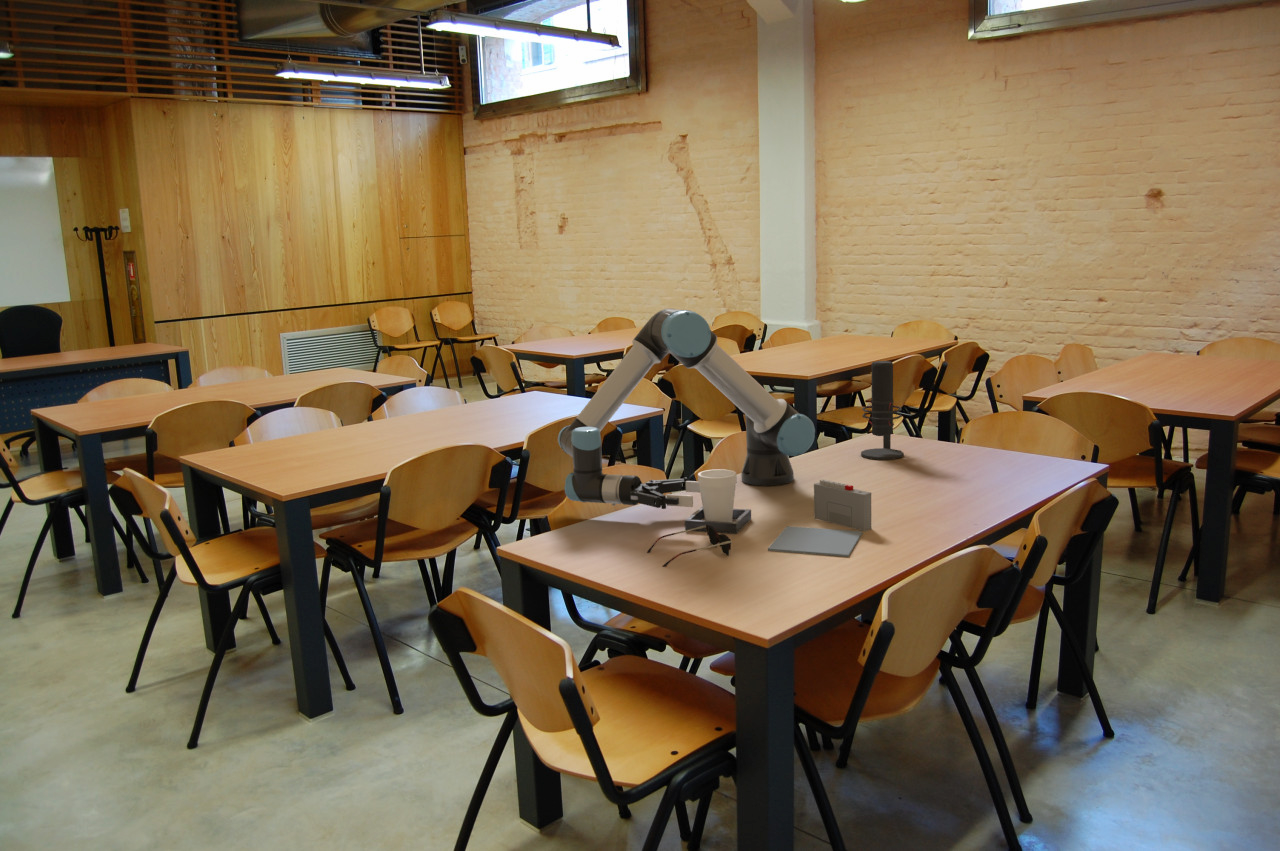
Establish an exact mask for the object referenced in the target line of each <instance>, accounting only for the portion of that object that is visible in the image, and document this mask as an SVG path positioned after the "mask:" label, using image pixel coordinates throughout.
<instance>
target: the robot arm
mask: <svg viewBox="0 0 1280 851" xmlns="http://www.w3.org/2000/svg"><path fill="white" fill-rule="evenodd" d="M669 354H671V355H672V357H674V358H675V359H676V360H677V361H678V362H680V364H682V366H684V367H685V368H686V369H695V370H697V371H698V372H699V373H700V374H701V375H702V376H703V377H704V378H706V380H707V381H709V382H710V384H712V385H713V386H714V387H715V388H716V389H718V390H719V392H721V394H723V395H724V396H725V397H726V398H727V399H728V400H729V401H730V402H731V403H732V404H733V405H735V407H737V408H738V409H739V410H740V412H742V413H743V414H745V416H744V417H745V431H746V432H745V434H746V435H745V436H746V437H745V438H746V456H745V460H744V463H743V466H742V470H741V475H740V476H741V477H740V478H741V481H742V483H744V484H747V485H753V486H765V487H766V486H767V487H768V486H770V487H771V486H779V485H786V484H790V483H791V482H793V481H794V478H795V477H794V476H795V473H794V470H793V467H792V463H791V462H790V458H789V456H790V457H797V456H800V455H803V454H805V453H807V451H808V450H809V449H810V448H811V447H812V445H813V444H814V441H815V437H816V436H815V434H816V428H815V425H814V422H813V421H812V420H811V419H810V418H809V417H808V416H807V415H805V414H803V413H799V412H798V411H797V410H796V409H795V408H794V407H792V405H790V404H789V403H788V402H787V401H786V400H785V399H783V398H778V399H776V398H775V397H774V396H773V395H772V394H770V392H769V391H768V390H766V388H764V387H763V386H762V385H761V384H760V383H759V382H758V381H757V380H756V379H755V378H753V377H752V375H750V373H748V372H747V371H746V370H745V369H744V368H743V366H741V365H740V364H739V363H738V362H737V361H736V360H734V358H733V357H731V355H730V354H728V353H727V351H725V350H724V349H723V348H722V347H721V346H719V344H718V336H717V335H716V334H715V333H714V332H713V331H712V329H711V327H710V325H709V323H708V322H707V320H706V319H705V318H704V316H702V315H700V314H699V313H698V312H695V311H692V310H689V309H676V308H664V309H662V310H659V311H657V312H656V313H655V314H654V315H653V316H651V317H650V318H649V320H647V322H646V323H645V324H644V325H643V327H641V329H640V330H639V332H638V333H637V334H636V335H635V337H634V338H633V339H632V346H631V348H630V349H629V351H628V352H627V353H626V354H625V355H624V357H623V358H622V359H621V360H620V362H619V363H618V365H616V367H615V368H614V370H612V372H611V373H610V375H609V376H608V377H607V378H606V379H605V381H604V382H603V383H602V385H601V386H600V387H599V389H598V390H597V391H596V392H595V394H594V395H593V396H592V397H591V399H590V400H589V401H588V403H587V404H586V405H585V406H584V407H583V409H582V410H581V411H580V413H579V414H578V415H577V416H576V418H575V419H574V420H573V421H572V422H571V423H570V425H566V426H564V427H563V428H561V430H560V431H559V433H558V436H557V443H558V445H559V447H560V449H562V451H563V452H564V453H565V454H567V455H569V456H570V457H571V458H572V466H573V467H572V468H573V470H572V472H570V473H568V475H566V478H565V482H564V483H565V485H564V494H565V496H566V497H567V498H568V500H570V501H572V502H580V503H581V502H582V503H595V504H611V506H613V507H614V506H616V505H621V504H622V505H625V506H626V505H627V506H637V505H638V504H642V505H645V506H649V507H653V508H656V509H659V508H660V509H662V510H666V509H667V506H669V507H683V508H693V507H694V496H693V495H691V494H690V495H689V494H688V495H687V494H672V493H675V492H683V491H685V492H686V493H699V494H701V493H700V487H699V484H698V480H697V481H695V480H688V478H687V476H686V477H683V478H673V479H656V480H655V479H649V481H646V482H645V483H643V482H642V480H641V478H640V477H639V476H638V475H627V474H625V475H623V474H611V473H610V474H607V473H603V456H602V455H603V454H602V438H601V436H602V435H601V431H602V430H603V429H604V428H605V426H607V424H608V423H609V421H610V420H611V419H612V417H613V416H614V415H615V413H617V411H618V410H619V409H620V407H621V406H622V405H623V403H624V402H625V401H626V400H627V399H628V397H629V396H630V395H631V393H632V392H633V391H634V390H635V388H636V387H637V386H638V385H639V383H640V382H641V381H642V380H643V379H644V377H645V376H646V375H647V374H648V372H650V370H651V368H652V367H653V366H654V365H655V364H660V363H661V362H662V361H663V359H665V357H666V356H667V355H669ZM665 494H666V495H665Z"/></svg>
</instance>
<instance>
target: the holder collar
mask: <svg viewBox="0 0 1280 851" xmlns="http://www.w3.org/2000/svg"><path fill="white" fill-rule="evenodd" d="M732 520H734V521H732V522H718V521H705V517H704V511H703V506H700V508H698V509H697V510H695V511H694V512H693V513H692V514H691V515H690V516H688V517H687V518H686V519H684V531H686V530H690V529H694V528H698V527H701V526H705V525H707V524H708V525H711V526H713V527H714V528H715V529H716V530H717V532H718V534H719V533H720V534H730V535H731V534H732V535H737V534H738V533H739V532H740V531H741V530H742V529H744V527H745V526H746V525H747V524H748V523H749V522H751V520H752V509H747V508H734V507H733V516H732ZM691 532H704V533H705V532H706V533H707V529H706V527H705V528H701V529H696V530H692V531H691Z"/></svg>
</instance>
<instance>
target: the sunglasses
mask: <svg viewBox="0 0 1280 851" xmlns="http://www.w3.org/2000/svg"><path fill="white" fill-rule="evenodd" d="M705 527H706V529H707V532H706V535H707V536H708V539H709V544H710V545H709V546H705V547H699V548H695V549H691V550H687V551H683V552H679V553H678V554H676V555H675V556H674V557H671V559H669V560H667V561H666V562H665V563H664V564H663V565H662V566H661V567H662V568H663V567H664V568H665V567H667V566H669V564H670V563H671V562H673V561H674V560H676V559H677V558H679V557H680V556H681V555H685V554H689V553H693V552H697V551H700V550H706V549H709V548H714V547H715V548H717V547H718V546H719V547H720V548H721V552H722V553H723V554H725V555H726V556H727V557H729V556H730V552H731V550H732V540H731V538H730V537H729V536H728V535H727V534H726V533H720V534H719V533H718V532H717V530H716V529H715V528H714V527H713V526H711V525H708V524H707V525H705V526H701V527H698V528H694V529H690V530H682V531H678V532H677V531H676V532H673V533H669V534H665V535H662V536H660V537H658V538H657V539H656V540H655V542H653V544H652V545H651V546H650V548H648V549H647V552H646V554H651V552H652V549H653V548H654V547H655V546H656V544H657V543H659V541H660V540H662V539H663V538H666V537H671V536H674V535H675V536H676V535H679V534H682V533H687V532H693V531H692V530H696V529H701V528H705Z"/></svg>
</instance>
